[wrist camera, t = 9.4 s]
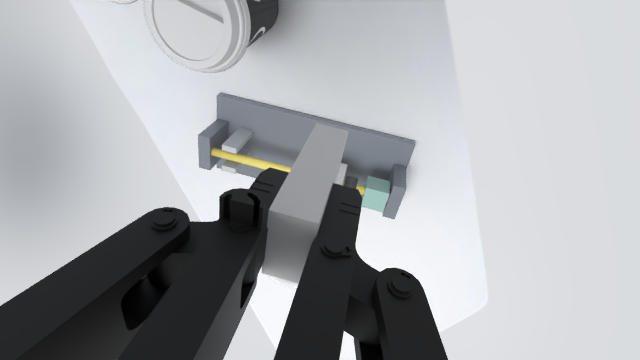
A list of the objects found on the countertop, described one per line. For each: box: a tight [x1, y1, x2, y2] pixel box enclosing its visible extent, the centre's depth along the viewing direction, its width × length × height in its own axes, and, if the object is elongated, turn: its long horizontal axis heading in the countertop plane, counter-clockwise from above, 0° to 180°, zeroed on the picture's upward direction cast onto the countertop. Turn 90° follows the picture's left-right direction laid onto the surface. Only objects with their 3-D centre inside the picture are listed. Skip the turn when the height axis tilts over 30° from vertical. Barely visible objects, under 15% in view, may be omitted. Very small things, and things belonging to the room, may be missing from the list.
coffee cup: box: [144, 0, 278, 73], centre depth 34 cm, size 10×10×15 cm
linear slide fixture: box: [198, 93, 415, 219], centre depth 47 cm, size 28×12×8 cm, turn 80°
